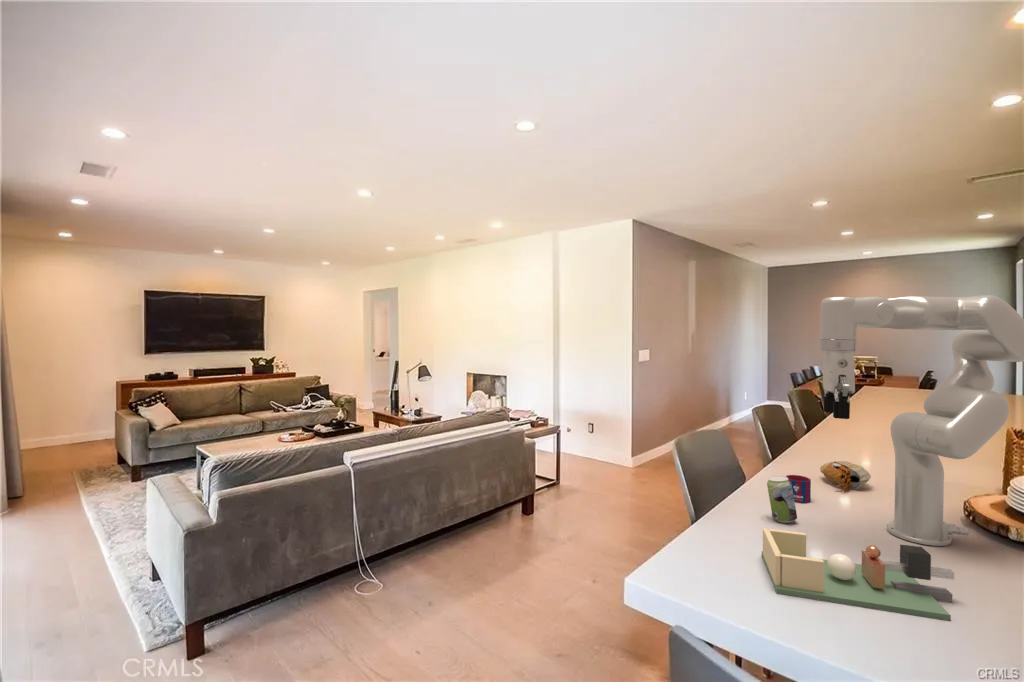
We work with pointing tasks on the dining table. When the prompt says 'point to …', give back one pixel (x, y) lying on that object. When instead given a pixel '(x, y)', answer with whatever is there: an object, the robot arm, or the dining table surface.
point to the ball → (841, 566)
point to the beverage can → (781, 499)
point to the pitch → (816, 582)
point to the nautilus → (845, 474)
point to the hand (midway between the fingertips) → (836, 415)
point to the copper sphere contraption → (900, 565)
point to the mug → (800, 488)
